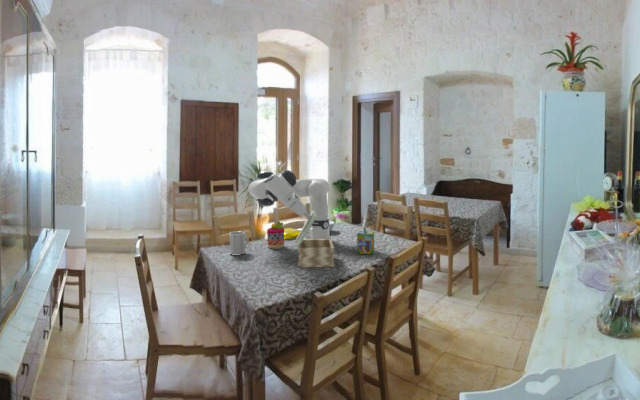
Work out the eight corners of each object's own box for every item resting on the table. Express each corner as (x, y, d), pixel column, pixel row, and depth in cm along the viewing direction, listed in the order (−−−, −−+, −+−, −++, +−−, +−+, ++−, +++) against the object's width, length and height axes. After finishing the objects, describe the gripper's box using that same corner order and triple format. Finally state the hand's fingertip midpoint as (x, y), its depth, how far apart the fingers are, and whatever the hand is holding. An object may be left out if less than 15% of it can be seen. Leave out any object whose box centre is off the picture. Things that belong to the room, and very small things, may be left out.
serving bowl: (337, 234, 314) (337, 224, 313) (306, 235, 311) (306, 225, 310) (331, 228, 335) (331, 219, 334) (302, 229, 331) (302, 219, 330)
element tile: (290, 233, 318) (290, 226, 318) (304, 237, 307) (304, 230, 307) (272, 237, 309) (272, 229, 308) (286, 240, 298) (286, 233, 297)
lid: (298, 248, 234) (295, 246, 234) (298, 239, 254) (296, 238, 254) (316, 217, 232) (314, 216, 232) (315, 211, 252) (313, 209, 252)
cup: (234, 251, 270) (233, 230, 268) (249, 251, 268) (248, 231, 266) (227, 255, 260) (226, 234, 258) (242, 256, 258) (242, 235, 256)
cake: (278, 249, 272) (277, 224, 270) (263, 247, 277) (263, 223, 275) (288, 246, 281) (287, 221, 279) (273, 244, 286) (273, 220, 284)
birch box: (298, 267, 235) (298, 248, 234) (298, 257, 255) (298, 239, 254) (334, 266, 236) (334, 247, 235) (331, 256, 256) (331, 239, 255)
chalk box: (373, 254, 259) (373, 228, 257) (356, 254, 261) (356, 228, 259) (374, 250, 268) (374, 225, 266) (358, 250, 270) (358, 225, 268)
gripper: (287, 200, 251) (305, 218, 253) (286, 206, 231) (306, 225, 232) (295, 192, 251) (313, 210, 252) (295, 197, 230) (315, 216, 232)
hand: (310, 217), depth 242 cm, fingers closed, pressing on lid
